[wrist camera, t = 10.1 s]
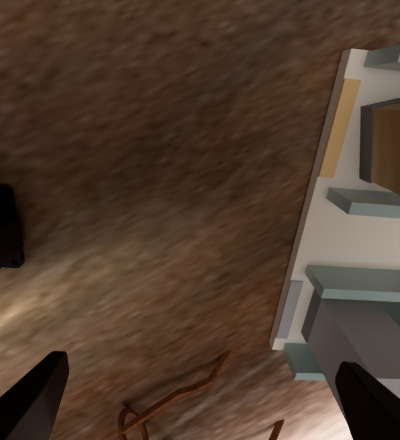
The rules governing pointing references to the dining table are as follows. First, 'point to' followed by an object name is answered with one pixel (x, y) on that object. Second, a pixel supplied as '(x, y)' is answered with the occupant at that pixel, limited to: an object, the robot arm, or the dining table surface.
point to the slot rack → (343, 215)
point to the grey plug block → (353, 339)
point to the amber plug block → (380, 144)
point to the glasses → (171, 398)
